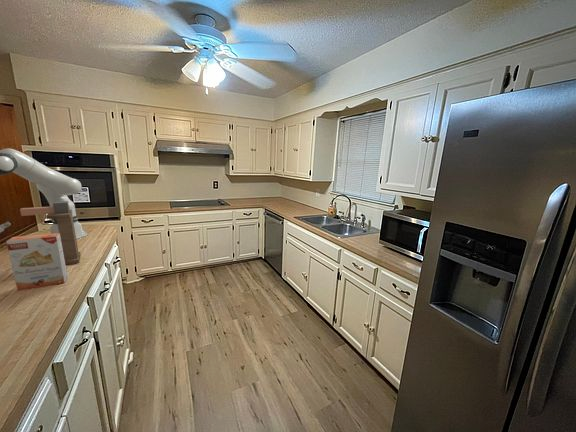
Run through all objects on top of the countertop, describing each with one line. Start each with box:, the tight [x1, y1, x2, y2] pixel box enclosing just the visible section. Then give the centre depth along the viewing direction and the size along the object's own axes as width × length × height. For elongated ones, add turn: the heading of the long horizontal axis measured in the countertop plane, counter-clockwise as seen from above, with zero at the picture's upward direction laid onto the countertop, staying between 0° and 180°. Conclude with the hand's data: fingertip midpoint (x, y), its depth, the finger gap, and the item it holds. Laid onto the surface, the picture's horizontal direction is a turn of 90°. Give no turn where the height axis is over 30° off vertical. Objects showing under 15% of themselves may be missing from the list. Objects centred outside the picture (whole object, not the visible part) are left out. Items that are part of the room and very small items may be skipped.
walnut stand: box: [45, 210, 82, 266], centre depth 120 cm, size 12×8×25 cm
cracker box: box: [5, 233, 69, 292], centre depth 97 cm, size 14×6×21 cm, turn 121°
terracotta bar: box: [19, 201, 70, 217], centre depth 113 cm, size 5×16×5 cm, turn 127°
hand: (6, 225), depth 107 cm, fingers open, 8 cm apart
